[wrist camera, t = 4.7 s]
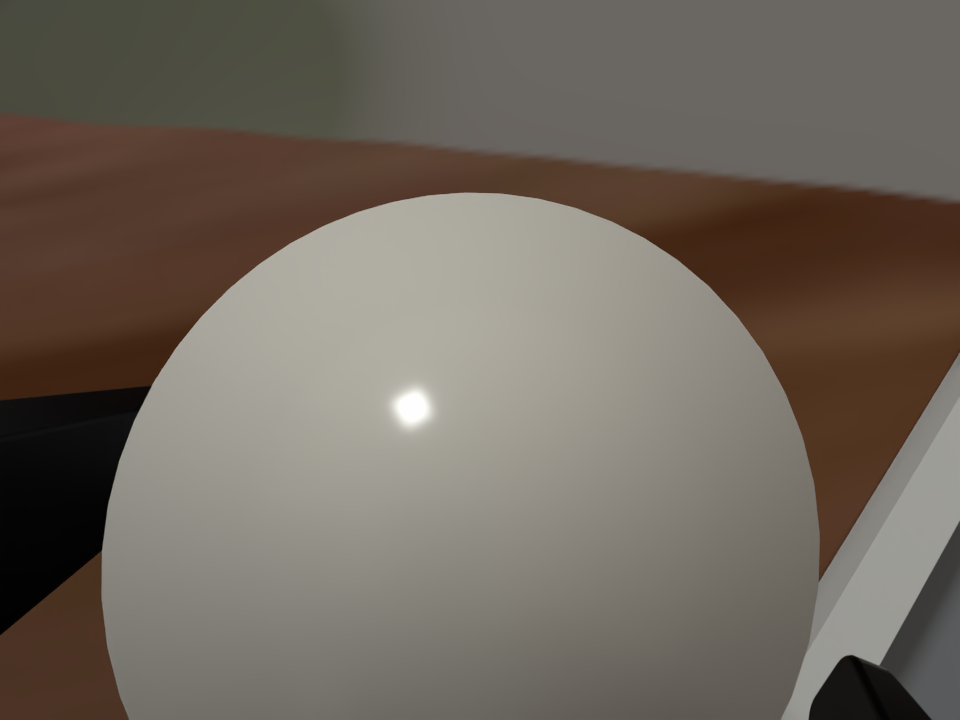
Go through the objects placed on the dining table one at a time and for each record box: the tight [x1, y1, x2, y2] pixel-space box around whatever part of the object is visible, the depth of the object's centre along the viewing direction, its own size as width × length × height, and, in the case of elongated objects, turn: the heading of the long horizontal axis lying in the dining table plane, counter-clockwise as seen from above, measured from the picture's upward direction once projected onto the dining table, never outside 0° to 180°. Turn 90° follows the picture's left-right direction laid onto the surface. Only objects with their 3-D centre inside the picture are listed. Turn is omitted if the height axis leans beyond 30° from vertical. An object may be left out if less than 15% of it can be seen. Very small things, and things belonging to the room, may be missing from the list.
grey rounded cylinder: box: [102, 193, 820, 720], centre depth 10 cm, size 6×6×11 cm
